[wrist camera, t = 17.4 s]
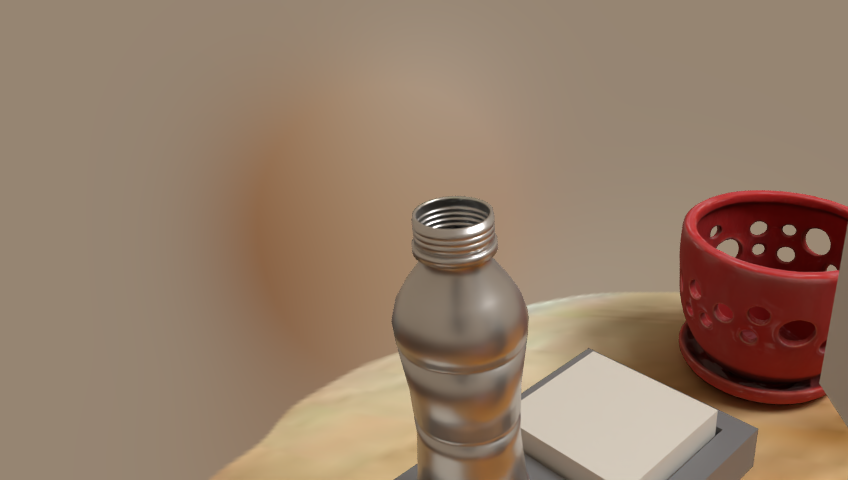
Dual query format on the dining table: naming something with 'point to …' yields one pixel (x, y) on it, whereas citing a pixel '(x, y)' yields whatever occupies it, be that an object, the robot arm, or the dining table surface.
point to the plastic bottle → (462, 345)
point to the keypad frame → (701, 476)
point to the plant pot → (759, 294)
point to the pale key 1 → (612, 424)
